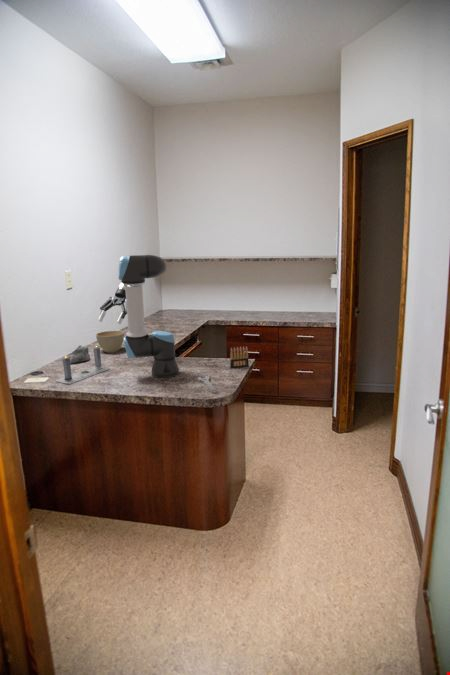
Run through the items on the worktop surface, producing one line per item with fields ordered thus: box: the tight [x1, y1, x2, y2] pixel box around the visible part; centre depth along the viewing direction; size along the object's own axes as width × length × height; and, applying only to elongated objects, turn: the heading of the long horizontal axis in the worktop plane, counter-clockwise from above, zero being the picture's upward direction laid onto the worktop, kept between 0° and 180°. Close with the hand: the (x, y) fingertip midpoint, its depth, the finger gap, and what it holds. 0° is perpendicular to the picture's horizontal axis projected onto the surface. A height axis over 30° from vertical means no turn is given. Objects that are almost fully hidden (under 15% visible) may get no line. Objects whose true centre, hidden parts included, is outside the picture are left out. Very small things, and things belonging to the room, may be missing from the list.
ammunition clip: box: [229, 345, 250, 370], centre depth 252 cm, size 11×2×12 cm, turn 105°
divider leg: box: [93, 345, 103, 368], centre depth 255 cm, size 3×3×12 cm
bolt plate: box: [55, 355, 111, 385], centre depth 246 cm, size 10×30×13 cm, turn 151°
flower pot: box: [95, 330, 125, 354], centre depth 296 cm, size 18×18×12 cm
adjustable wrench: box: [197, 375, 218, 394], centre depth 225 cm, size 25×6×2 cm, turn 13°
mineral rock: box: [68, 345, 91, 364], centre depth 274 cm, size 13×11×10 cm
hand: (109, 321), depth 260 cm, fingers open, 13 cm apart
